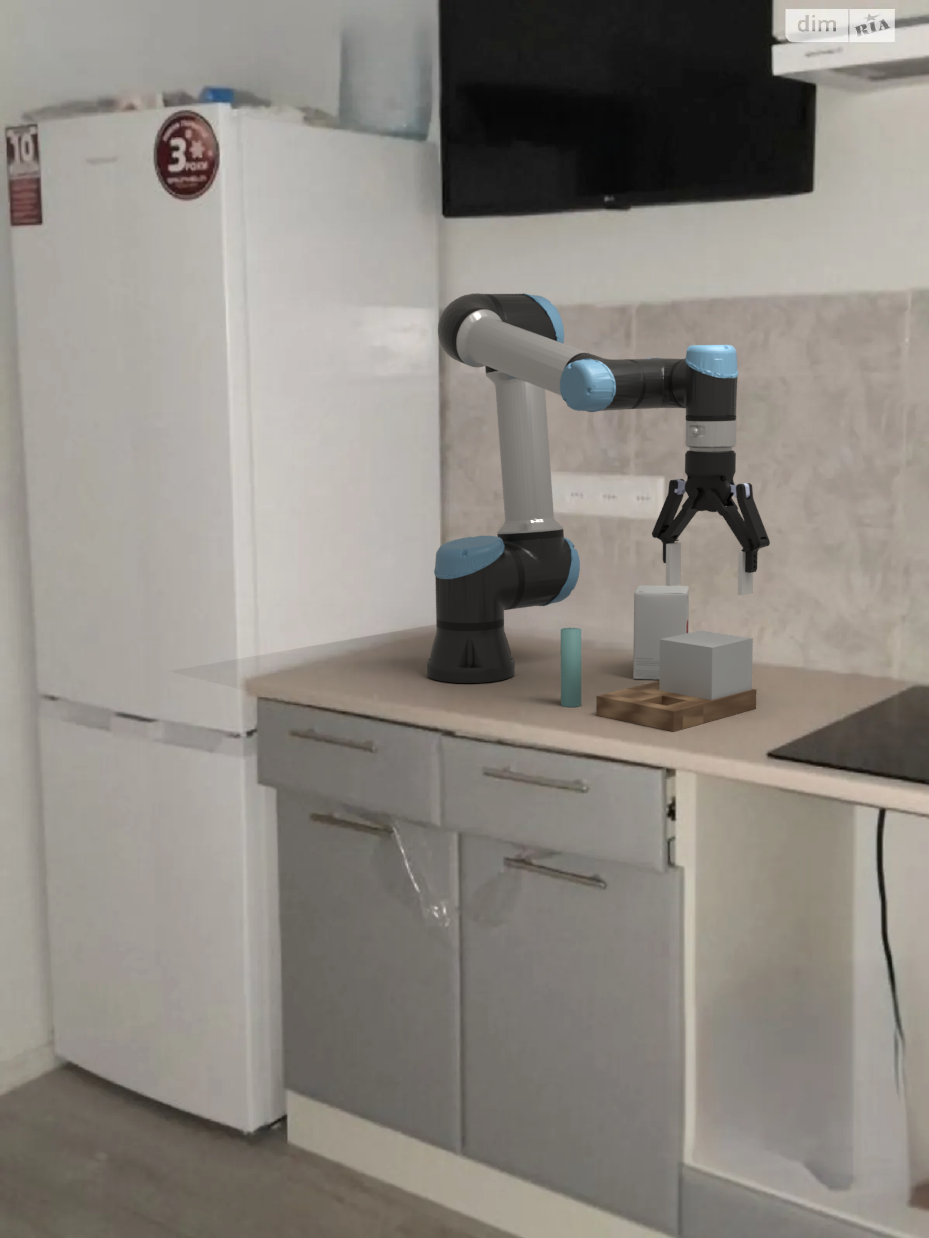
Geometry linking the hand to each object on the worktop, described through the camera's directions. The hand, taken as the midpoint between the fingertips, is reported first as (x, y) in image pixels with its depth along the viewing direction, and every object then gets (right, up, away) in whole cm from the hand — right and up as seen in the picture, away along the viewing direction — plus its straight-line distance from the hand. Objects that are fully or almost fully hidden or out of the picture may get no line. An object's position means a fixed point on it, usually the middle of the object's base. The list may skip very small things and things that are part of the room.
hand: (708, 589), depth 232 cm
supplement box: (-4, -14, +28) cm, 32 cm away
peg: (-20, -18, +7) cm, 28 cm away
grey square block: (0, -15, +3) cm, 16 cm away
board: (-5, -19, +1) cm, 19 cm away
